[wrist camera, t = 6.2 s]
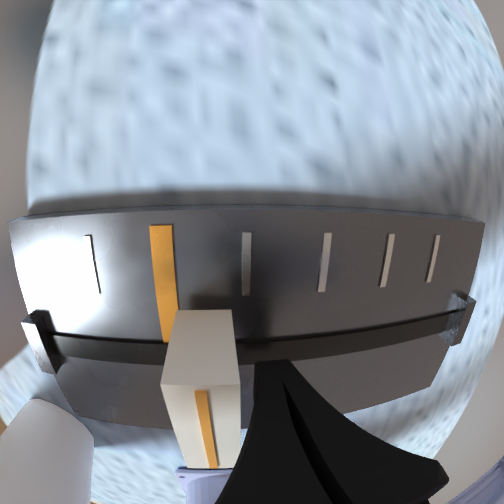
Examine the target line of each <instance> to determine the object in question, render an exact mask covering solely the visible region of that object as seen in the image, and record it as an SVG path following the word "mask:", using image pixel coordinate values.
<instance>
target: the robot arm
mask: <svg viewBox="0 0 504 504" xmlns="http://www.w3.org/2000/svg"><path fill="white" fill-rule="evenodd" d="M253 400H254V406H253V411H252V415H251V419H250V423H249V427H248V430H247V434H246V437H245V440H244V443H243V446H242V448H241V451H240V453H239V456H238V459H237V461H236V463H235V466H234V468H233V470H184V469H177V470H175V475H176V477H177V479H178V481H179V483H180V484H181V486H182V488H183V490H184V492H185V493H186V504H430V503H429V501H428V499H429V498H430V497H431V496H433V495H434V494H435V493H436V492H438V491H439V490H440V489H441V488H443V487H444V486H445V485H446V484H447V483H448V482H449V477H448V476H447V474H446V472H445V471H444V469H443V467H442V466H441V465H440V463H439V462H438V461H437V460H433V459H429V458H426V457H422V456H419V455H416V454H412V453H410V452H407V451H404V450H402V449H400V448H397V447H395V446H393V445H390V444H389V443H387V442H385V441H383V440H381V439H379V438H377V437H375V436H373V435H371V434H370V433H368V432H367V431H365V430H363V429H362V428H360V427H359V426H357V425H356V424H355V423H353V422H352V421H350V420H349V419H348V418H346V417H345V416H344V415H343V414H341V413H340V412H339V411H338V410H337V409H335V408H334V407H333V406H332V405H331V404H330V403H329V402H328V401H327V400H325V399H324V398H323V397H322V396H321V395H320V394H319V393H318V392H317V391H316V390H315V389H314V388H313V387H312V385H311V384H310V383H309V382H308V381H307V380H306V379H305V378H304V377H303V375H302V374H301V373H300V372H299V371H298V370H297V368H296V367H295V366H294V365H293V363H292V362H291V361H290V360H289V359H282V360H269V361H257V362H256V363H255V364H254V385H253ZM446 504H504V456H503V457H502V458H501V459H500V460H499V461H498V462H497V463H496V464H495V465H494V466H493V467H492V468H491V469H490V470H489V471H488V472H486V473H485V474H484V475H483V476H482V477H481V478H480V479H478V480H477V481H476V482H475V483H473V484H472V485H471V486H469V487H468V488H467V489H466V490H464V491H463V492H462V493H460V494H459V495H458V496H456V497H455V498H454V499H452V500H451V501H449V502H448V503H446Z"/></svg>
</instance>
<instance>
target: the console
mask: <svg viewBox="0 0 504 504" xmlns="http://www.w3.org/2000/svg"><path fill="white" fill-rule="evenodd" d="M8 226H9V233H10V239H11V244H12V250H13V256H14V260H15V265H16V269H17V274H18V277H19V281H20V285H21V289H22V293H23V296H24V300H25V303H26V306H27V309H28V312H29V315H28V316H27V317H26V318H25V319H24V320H23V321H22V326H23V329H24V331H25V334H26V336H27V339H28V341H29V344H30V346H31V348H32V351H33V353H34V355H35V357H36V360H37V362H38V364H39V366H40V368H41V370H42V372H46V373H50V374H54V376H55V378H56V380H57V382H58V384H59V386H60V388H61V390H62V392H63V393H64V395H65V397H66V399H67V401H68V402H69V404H70V406H71V408H72V409H73V411H74V413H75V414H76V416H81V417H85V418H90V419H95V420H100V421H106V422H112V423H118V424H125V425H133V426H141V427H151V428H164V429H173V426H172V423H171V420H170V416H169V413H168V410H167V406H166V403H165V400H164V396H163V392H162V389H161V385H160V383H161V378H162V373H163V368H164V363H165V358H166V354H167V349H168V344H169V340H170V335H171V331H172V327H173V322H174V318H175V314H176V310H231V312H232V320H233V329H234V338H235V346H236V354H237V362H238V370H239V377H240V411H241V429H246V428H248V427H249V423H250V419H251V415H252V411H253V406H254V400H253V385H254V364H255V363H256V362H257V361H269V360H282V359H289V360H290V361H291V362H292V363H293V365H294V366H295V367H296V368H297V370H298V371H299V372H300V373H301V374H302V375H303V377H304V378H305V379H306V380H307V381H308V382H309V383H310V384H311V385H312V387H313V388H314V389H315V390H316V391H317V392H318V393H319V394H320V395H321V396H322V397H323V398H324V399H325V400H327V401H328V402H329V403H330V404H331V405H332V406H333V407H334V408H335V409H337V410H338V411H339V412H340V413H341V414H345V413H349V412H353V411H357V410H361V409H365V408H368V407H372V406H375V405H379V404H382V403H385V402H388V401H392V400H395V399H398V398H401V397H403V396H406V395H409V394H412V393H414V392H417V391H420V390H422V389H425V388H427V387H430V385H431V384H432V382H433V380H434V378H435V376H436V374H437V372H438V370H439V368H440V366H441V364H442V362H443V360H444V357H445V355H446V353H447V351H448V348H449V346H454V345H457V344H459V343H461V341H462V338H463V336H464V333H465V331H466V329H467V326H468V323H469V321H470V318H471V315H472V313H473V310H474V307H475V304H476V300H474V299H473V298H471V297H470V296H468V295H469V291H470V288H471V285H472V281H473V277H474V274H475V270H476V266H477V262H478V257H479V253H480V248H481V243H482V238H483V233H484V227H485V223H483V222H480V221H478V220H475V219H472V218H465V217H456V216H447V215H438V214H428V213H418V212H406V211H394V210H380V209H365V208H348V207H327V206H300V205H174V206H147V207H126V208H109V209H95V210H81V211H70V212H58V213H48V214H39V215H30V216H22V217H20V218H17V219H14V220H12V221H9V222H8Z"/></svg>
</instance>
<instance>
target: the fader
mask: <svg viewBox="0 0 504 504" xmlns="http://www.w3.org/2000/svg"><path fill="white" fill-rule="evenodd" d="M160 385H161V389H162V392H163V396H164V400H165V403H166V406H167V410H168V413H169V416H170V420H171V423H172V426H173V429H174V432H175V435H176V438H177V441H178V444H179V446H180V449H181V452H182V455H183V457H184V460H185V462H186V465H187V468H234V466H235V463H236V461H237V459H238V456H239V453H240V451H241V411H240V377H239V370H238V362H237V354H236V346H235V338H234V329H233V320H232V312H231V310H176V314H175V318H174V322H173V327H172V331H171V335H170V340H169V344H168V349H167V354H166V358H165V363H164V368H163V373H162V378H161V383H160Z"/></svg>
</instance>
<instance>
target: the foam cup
mask: <svg viewBox="0 0 504 504" xmlns="http://www.w3.org/2000/svg"><path fill="white" fill-rule="evenodd" d="M93 447H94V437H93V435H92V434H91V433H90V431H89V430H88V429H87V428H86V426H85V425H84V424H82V423H81V422H80V421H79V420H77V419H76V418H75V417H74V416H72V415H71V414H70V413H68V412H66V411H65V410H63V409H61V408H60V407H58V406H56V405H55V404H53V403H50V402H47V401H44V400H42V399H30V400H29V402H28V404H25V405H24V407H23V408H22V409H21V410H20V412H19V413H18V414H17V416H16V417H15V418H14V419H13V421H12V422H11V423H10V425H9V426H8V427H7V428H6V430H5V431H4V432H3V434H2V435H1V437H0V504H90V495H91V476H92V464H93V454H94V448H93Z"/></svg>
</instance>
